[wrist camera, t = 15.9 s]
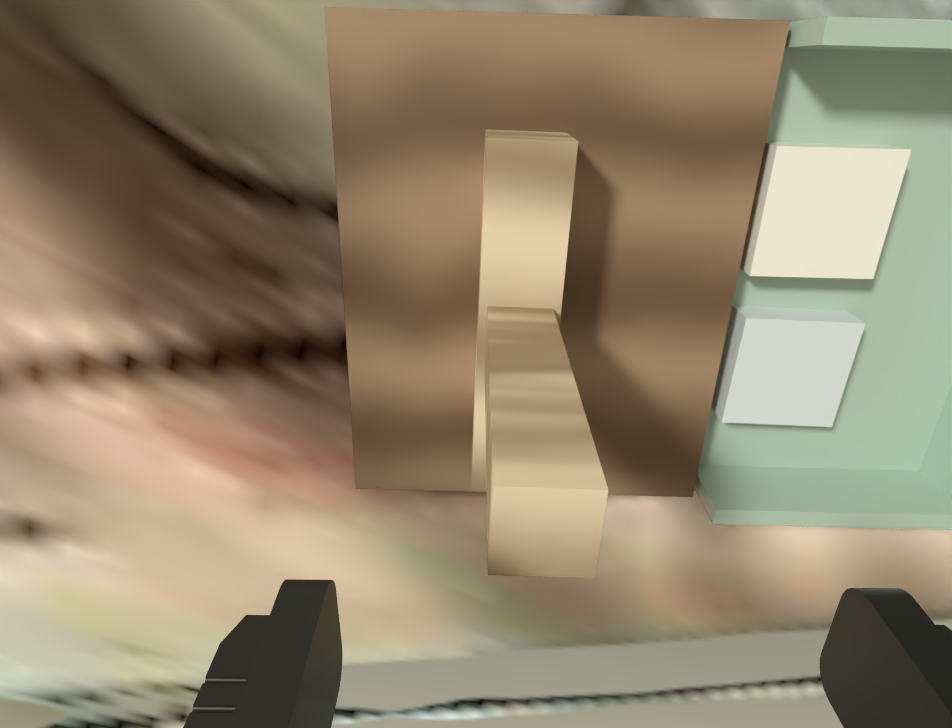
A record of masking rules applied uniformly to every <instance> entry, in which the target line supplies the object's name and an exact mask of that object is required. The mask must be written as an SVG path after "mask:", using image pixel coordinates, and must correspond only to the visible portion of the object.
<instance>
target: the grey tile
mask: <svg viewBox="0 0 952 728" xmlns="http://www.w3.org/2000/svg"><path fill="white" fill-rule="evenodd" d="M865 324H866V323H864V322H863V321H861V320H860V319H858V318H857V317H855V316H854V315H852V314H851V313H849V312H848V311H835V310H813V309H791V308H769V307H747V306H733V310H732V315H731V319H730V323H729V328H728V332H727V337H726V341H725V345H724V350H723V354H722V358H721V363H720V367H719V372H718V376H717V380H716V385H715V390H714V395H713V400H712V405H711V408H712V409H713V411H714V412H715V414H716V415H717V416H718V418H719V419H720V421H721V422H724V423H748V424H771V425H795V426H818V427H832V425H833V422H834V419H835V416H836V413H837V410H838V407H839V404H840V401H841V398H842V394H843V391H844V388H845V385H846V382H847V379H848V376H849V373H850V370H851V367H852V364H853V361H854V358H855V354H856V351H857V348H858V345H859V342H860V339H861V336H862V333H863V330H864V327H865Z"/></svg>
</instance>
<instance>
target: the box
mask: <svg viewBox="0 0 952 728" xmlns="http://www.w3.org/2000/svg"><path fill="white" fill-rule="evenodd" d="M766 142H792V143H830V144H868V145H891V146H896V147H901V148H907V149H912V150H911V153H910V157H909V160H908V163H907V167H906V170H905V173H904V177H903V180H902V184H901V187H900V190H899V194H898V197H897V200H896V204H895V207H894V210H893V214H892V217H891V221H890V224H889V227H888V231H887V234H886V237H885V241H884V244H883V247H882V251H881V254H880V258H879V261H878V264H877V268H876V271H875V274H874V278H873V279H850V278H810V277H770V276H749V275H748V274H747V273H745V272H744V271H743V270H741V269H740V268H739V273H738V278H737V283H736V288H735V293H734V297H733V302H732V307H731V312H730V317H729V322H728V327H727V332H728V328H729V323H730V319H731V315H732V310H733V306H747V307H769V308H791V309H813V310H835V311H848V312H849V313H851V314H852V315H854V316H855V317H857V318H858V319H860V320H861V321H863V322H864V323H866V324H865V327H864V330H863V333H862V336H861V339H860V342H859V345H858V348H857V351H856V354H855V358H854V361H853V364H852V367H851V370H850V373H849V376H848V379H847V382H846V385H845V388H844V391H843V394H842V398H841V401H840V404H839V407H838V410H837V413H836V416H835V419H834V422H833V425H832V427H818V426H795V425H771V424H748V423H724V422H721V421H720V419H719V418H718V416H717V415H716V414H715V412H714V411H713V409H712V408H711V409H710V414H709V419H708V424H707V429H706V434H705V439H704V443H703V448H702V453H701V458H700V463H699V468H698V473H697V478H696V482H695V487H694V489H695V491H696V492H697V494H698V496H699V498H700V500H701V502H702V504H703V506H704V508H705V510H706V512H707V514H708V516H709V518H710V520H711V522H712V524H722V525H764V526H806V527H848V528H890V529H932V530H952V20H932V19H897V18H862V17H821V18H814V19H808V20H801V21H794V22H790V25H789V30H788V35H787V40H786V44H785V49H784V54H783V59H782V64H781V69H780V74H779V78H778V83H777V88H776V93H775V98H774V103H773V108H772V113H771V117H770V122H769V127H768V132H767V137H766ZM727 332H726V336H725V341H726V337H727ZM725 341H724V345H725ZM723 350H724V346H723ZM722 354H723V351H722ZM721 358H722V356H721ZM720 363H721V361H720ZM719 367H720V366H719ZM718 372H719V370H718ZM717 376H718V375H717Z"/></svg>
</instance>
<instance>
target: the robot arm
mask: <svg viewBox="0 0 952 728" xmlns="http://www.w3.org/2000/svg"><path fill="white" fill-rule="evenodd" d="M341 671H342V642H341V633H340V623H339V614H338V605H337V595H336V587H335V583H334V581H333V580H285V581H284V582H283V583H282V585H281V587H280V589H279V592H278V595H277V597H276V600H275V603H274V606H273V608H272V611H271V614H270V615H246V616H245V617H244V618H243V619H242V620H241V621H240V622H239V624H238V625H237V626H236V627H235V628H234V629H233V630H232V631H231V632H230V633H229V634H228V635H227V637H226V638H225V639H224V640H223V641H222V642H221V643H220V645H219V647H218V650H217V652H216V654H215V656H214V659H213V661H212V663H211V666H210V668H209V670H208V672H207V675H206V680H205V683H204V684H202V686H201V688H200V691H199V693H198V695H197V698H196V700H195V702H194V704H193V711H192V713H190V714H189V716H188V718H187V720H186V723H185V725H184V727H183V728H331V724H332V720H333V715H334V711H335V706H336V701H337V697H338V692H339V687H340V680H341ZM820 674H821V680H822V684H823V687H824V690H825V693H826V695H827V698H828V700H829V701H830V703H831V705H832V707H833V709H834V711H835V712H836V714H837V716H838V718H839V720H840V722H841V723H842V725H843V727H844V728H952V631H951V630H950V629H949V628H947V627H946V626H945V625H935V624H934V623H933V622H932V620H931V619H930V618H929V617H928V615H927V614H926V613H925V612H924V610H923V609H922V608H921V607H920V605H919V604H918V603H917V602H916V601H915V599H914V598H913V597H912V596H911V595H910V594H909V593H907V592H906V591H904V590H902V589H890V588H849V589H847V590H846V591H845V592H844V593H843V594H842V597H841V599H840V602H839V605H838V608H837V610H836V613H835V616H834V619H833V622H832V624H831V627H830V630H829V633H828V636H827V639H826V641H825V644H824V647H823V650H822V653H821V657H820Z"/></svg>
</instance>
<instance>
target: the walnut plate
mask: <svg viewBox="0 0 952 728" xmlns="http://www.w3.org/2000/svg"><path fill="white" fill-rule="evenodd" d="M325 21H326V36H327V51H328V67H329V82H330V97H331V113H332V128H333V143H334V159H335V174H336V189H337V205H338V220H339V235H340V251H341V266H342V282H343V297H344V312H345V328H346V343H347V358H348V374H349V389H350V404H351V420H352V435H353V450H354V466H355V481H356V489H388V490H429V491H471V475H472V439H473V416H474V392H475V368H476V345H477V321H478V297H479V274H480V250H481V226H482V203H483V179H484V155H485V132H486V129H489V130H513V131H537V132H562V133H568V134H569V135H571V136H572V137H573V138H575V139H576V140H577V141H578V150H577V160H576V170H575V180H574V189H573V199H572V209H571V219H570V229H569V239H568V249H567V259H566V269H565V279H564V289H563V299H562V309H561V319H560V332H561V336H562V339H563V342H564V346H565V349H566V352H567V355H568V359H569V362H570V365H571V369H572V372H573V375H574V378H575V382H576V385H577V388H578V391H579V395H580V398H581V401H582V405H583V408H584V411H585V414H586V418H587V421H588V424H589V428H590V431H591V434H592V437H593V441H594V444H595V447H596V451H597V454H598V457H599V460H600V464H601V467H602V470H603V473H604V477H605V480H606V483H607V487H608V495H637V496H678V497H693V492H694V487H695V482H696V478H697V473H698V468H699V463H700V458H701V453H702V448H703V443H704V439H705V434H706V429H707V424H708V419H709V414H710V409H711V405H712V400H713V395H714V390H715V385H716V380H717V375H718V370H719V366H720V361H721V356H722V351H723V346H724V341H725V336H726V332H727V327H728V322H729V317H730V312H731V307H732V302H733V297H734V293H735V288H736V283H737V278H738V273H739V268H740V263H741V259H742V254H743V249H744V244H745V239H746V234H747V229H748V224H749V220H750V215H751V210H752V205H753V200H754V195H755V190H756V186H757V181H758V176H759V171H760V166H761V161H762V156H763V151H764V147H765V142H766V137H767V132H768V127H769V122H770V117H771V113H772V108H773V103H774V98H775V93H776V88H777V83H778V78H779V74H780V69H781V64H782V59H783V54H784V49H785V44H786V40H787V35H788V30H789V25H790V20H755V19H720V18H685V17H650V16H615V15H580V14H545V13H510V12H475V11H440V10H405V9H370V8H335V7H325ZM471 492H477V491H471Z"/></svg>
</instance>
